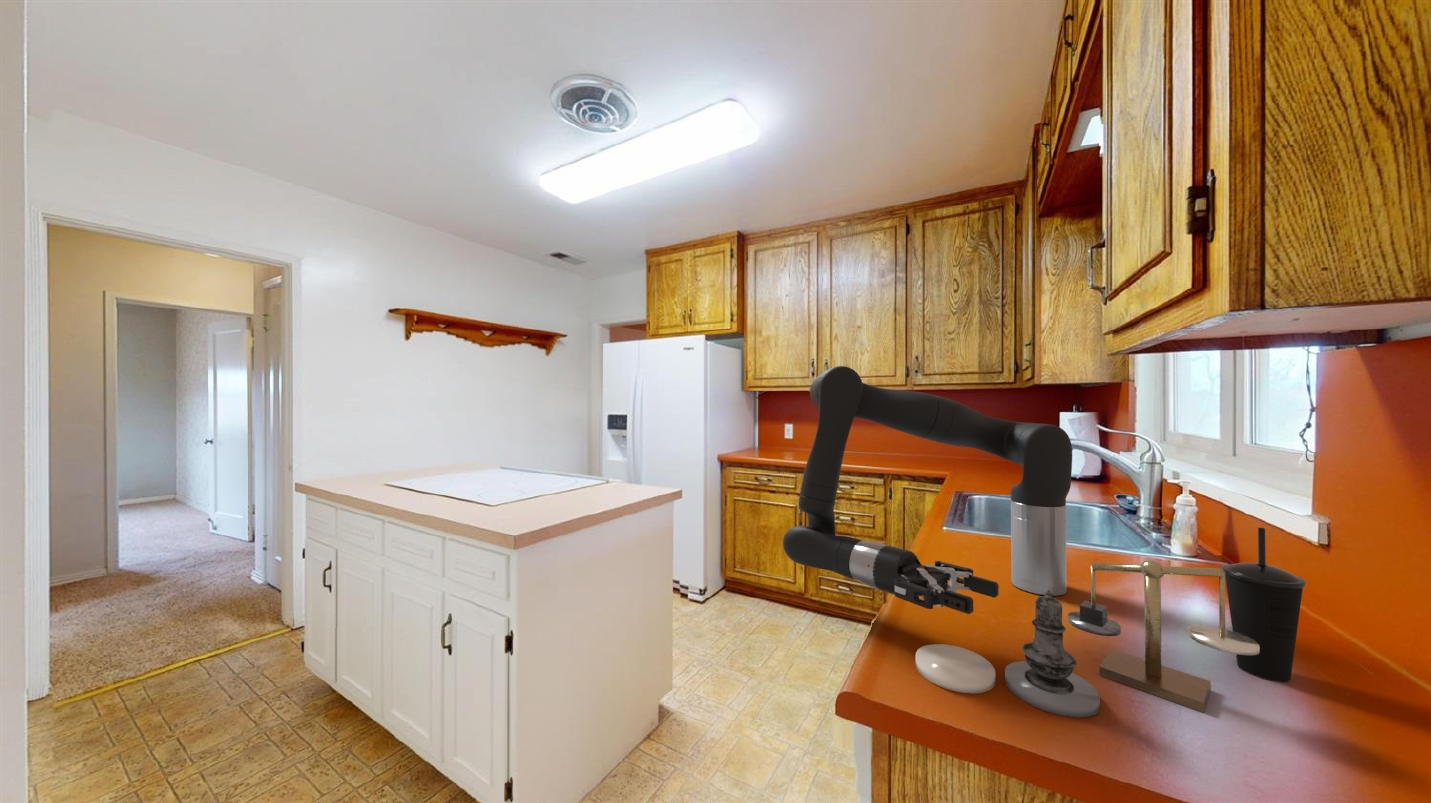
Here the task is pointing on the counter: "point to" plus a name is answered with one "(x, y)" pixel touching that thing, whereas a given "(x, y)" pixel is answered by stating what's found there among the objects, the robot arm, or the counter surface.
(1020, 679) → the slate-grey dish
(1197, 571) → the brass balance
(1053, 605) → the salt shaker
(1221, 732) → the counter surface
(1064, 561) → the robot arm
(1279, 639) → the drinking cup
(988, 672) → the cream dish
